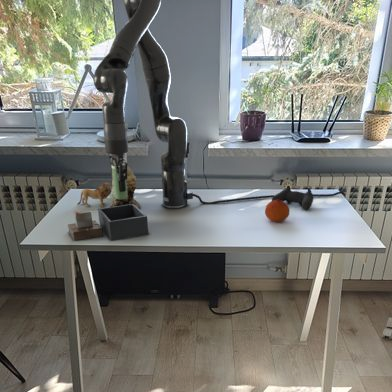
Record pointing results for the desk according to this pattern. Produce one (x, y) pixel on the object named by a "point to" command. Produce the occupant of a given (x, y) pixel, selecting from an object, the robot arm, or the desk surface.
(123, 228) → the gray open box
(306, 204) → the gaming controller
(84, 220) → the tap knob
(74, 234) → the panel
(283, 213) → the fruit
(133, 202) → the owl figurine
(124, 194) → the green tube
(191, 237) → the desk surface
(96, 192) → the lion figurine
